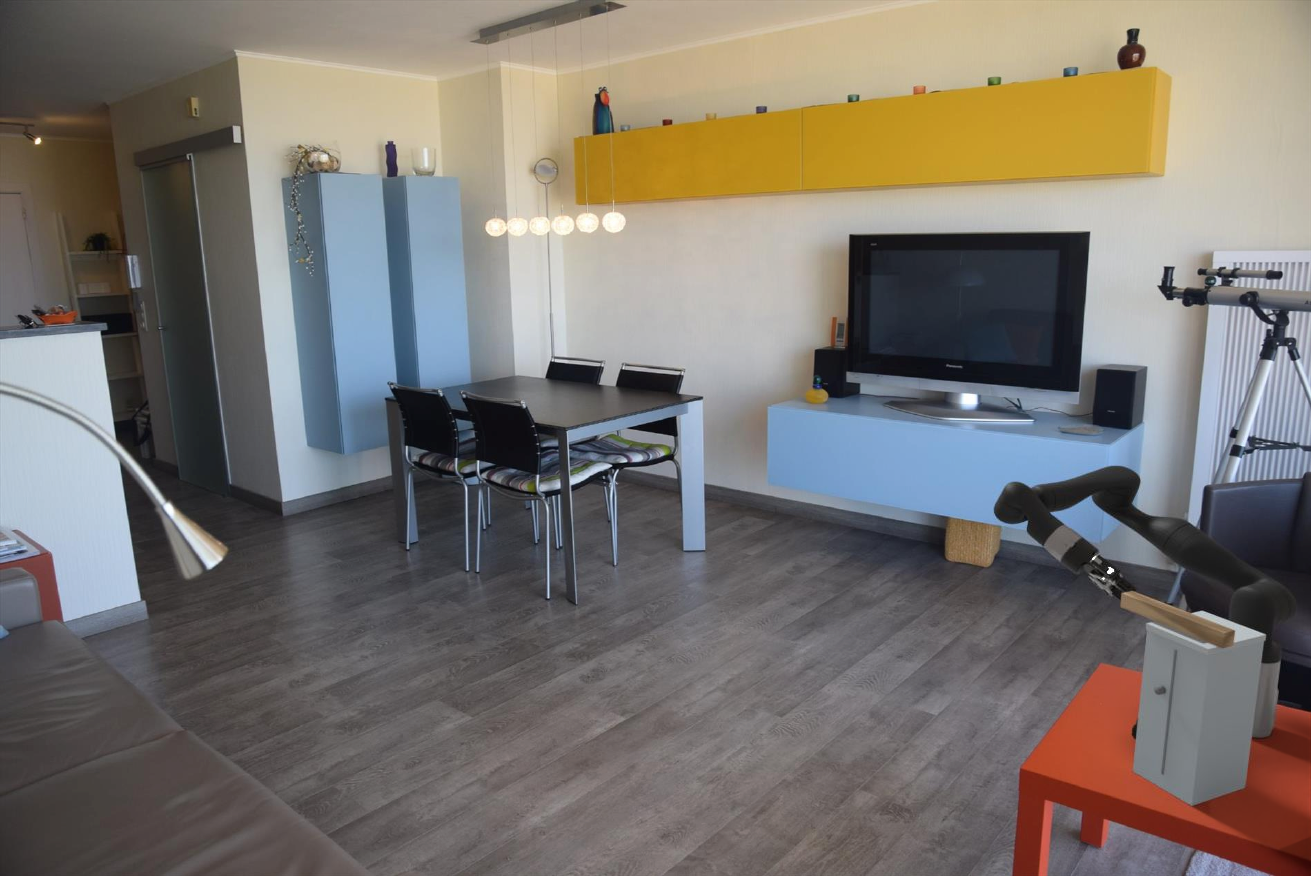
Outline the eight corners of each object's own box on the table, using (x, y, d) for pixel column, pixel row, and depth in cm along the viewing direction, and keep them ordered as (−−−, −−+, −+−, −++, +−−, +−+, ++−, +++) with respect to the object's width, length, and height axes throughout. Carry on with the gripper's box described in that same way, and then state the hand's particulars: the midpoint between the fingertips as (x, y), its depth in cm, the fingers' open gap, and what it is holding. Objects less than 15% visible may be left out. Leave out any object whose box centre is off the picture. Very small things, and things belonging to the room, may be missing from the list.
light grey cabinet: (1186, 754, 191) (1202, 610, 184) (1246, 787, 179) (1266, 634, 173) (1128, 772, 185) (1143, 623, 178) (1187, 807, 173) (1205, 649, 166)
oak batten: (1130, 604, 188) (1132, 590, 187) (1233, 645, 168) (1235, 630, 167) (1120, 606, 187) (1121, 593, 186) (1222, 648, 167) (1224, 633, 166)
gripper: (1058, 569, 214) (1118, 618, 205) (1059, 550, 202) (1122, 601, 193) (1081, 547, 214) (1142, 595, 205) (1083, 527, 202) (1147, 577, 193)
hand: (1132, 598), depth 199 cm, fingers open, 8 cm apart
